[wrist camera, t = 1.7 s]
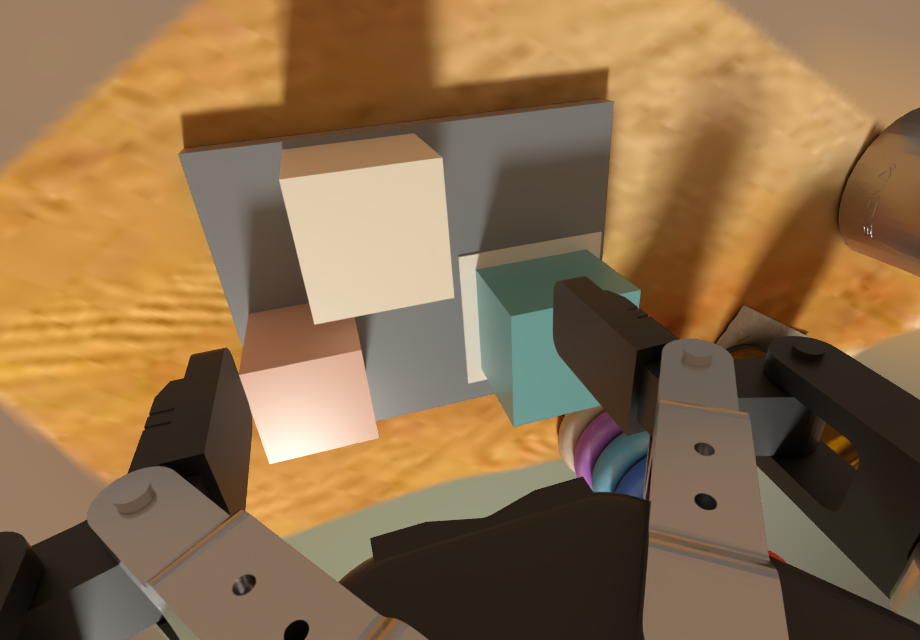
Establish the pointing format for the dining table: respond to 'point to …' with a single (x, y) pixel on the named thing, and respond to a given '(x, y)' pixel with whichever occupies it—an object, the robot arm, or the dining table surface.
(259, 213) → the baseplate
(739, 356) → the condiment
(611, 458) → the stacking toy
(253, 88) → the dining table surface
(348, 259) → the cream brick
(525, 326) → the teal base brick
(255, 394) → the pink cube
